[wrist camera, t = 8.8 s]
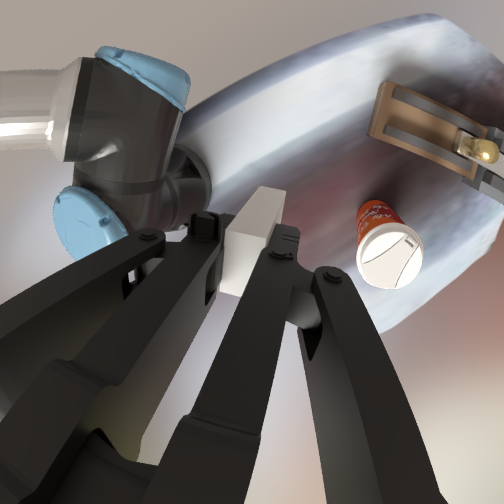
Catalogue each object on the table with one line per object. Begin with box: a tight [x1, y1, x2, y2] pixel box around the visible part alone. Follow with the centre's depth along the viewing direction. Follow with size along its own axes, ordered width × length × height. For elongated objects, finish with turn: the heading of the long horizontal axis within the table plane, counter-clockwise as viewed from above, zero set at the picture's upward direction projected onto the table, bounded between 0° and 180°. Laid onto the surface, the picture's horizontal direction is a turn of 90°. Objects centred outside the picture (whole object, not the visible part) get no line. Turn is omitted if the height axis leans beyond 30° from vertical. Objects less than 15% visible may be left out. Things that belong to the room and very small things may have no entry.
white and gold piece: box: [452, 130, 504, 178], centre depth 24 cm, size 9×3×8 cm, turn 78°
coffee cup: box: [357, 200, 423, 289], centre depth 36 cm, size 8×8×15 cm
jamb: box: [462, 126, 504, 205], centre depth 29 cm, size 6×10×9 cm, turn 168°
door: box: [367, 81, 487, 180], centre depth 31 cm, size 16×8×8 cm, turn 78°
